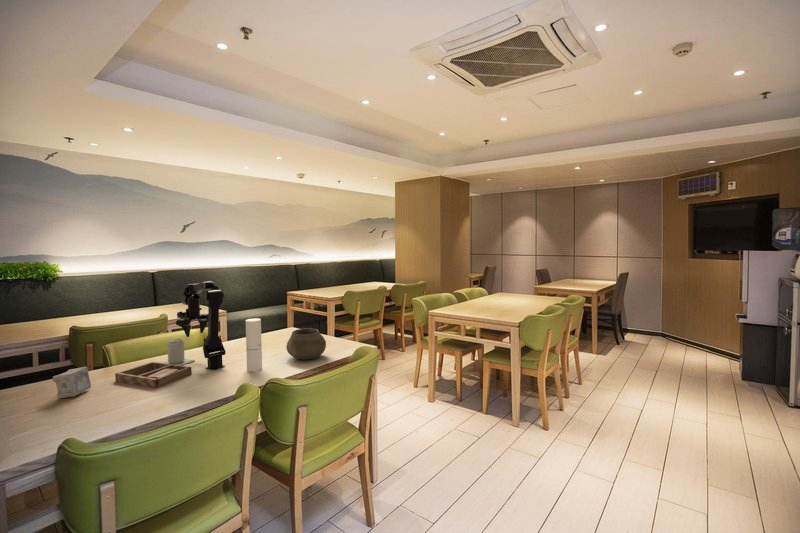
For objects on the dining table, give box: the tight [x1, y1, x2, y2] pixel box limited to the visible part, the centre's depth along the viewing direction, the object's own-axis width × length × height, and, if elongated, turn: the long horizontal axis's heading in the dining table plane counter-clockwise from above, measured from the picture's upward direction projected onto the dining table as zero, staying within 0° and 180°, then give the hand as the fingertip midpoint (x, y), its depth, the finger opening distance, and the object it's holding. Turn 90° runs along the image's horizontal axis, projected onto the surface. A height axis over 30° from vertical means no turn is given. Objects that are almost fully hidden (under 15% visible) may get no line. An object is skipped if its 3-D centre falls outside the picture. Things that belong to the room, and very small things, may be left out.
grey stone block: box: [52, 366, 92, 400], centre depth 161 cm, size 10×8×10 cm
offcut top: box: [148, 369, 179, 379], centre depth 177 cm, size 7×10×2 cm, turn 170°
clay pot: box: [285, 327, 327, 361], centre depth 211 cm, size 22×21×15 cm
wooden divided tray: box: [114, 361, 192, 389], centre depth 180 cm, size 25×18×4 cm
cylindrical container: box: [245, 317, 263, 372], centre depth 192 cm, size 7×7×25 cm
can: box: [166, 338, 185, 364], centre depth 201 cm, size 8×8×12 cm
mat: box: [163, 358, 195, 366], centre depth 202 cm, size 12×12×1 cm
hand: (194, 335), depth 209 cm, fingers open, 9 cm apart
